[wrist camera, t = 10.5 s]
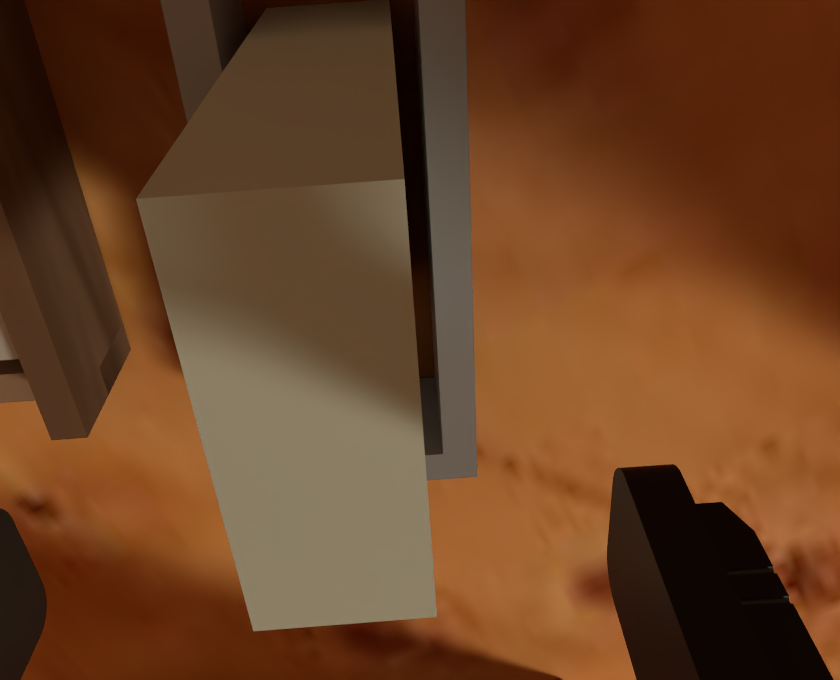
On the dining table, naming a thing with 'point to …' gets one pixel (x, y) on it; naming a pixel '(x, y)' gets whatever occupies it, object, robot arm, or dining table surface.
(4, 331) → the offcut grey mdf
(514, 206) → the dining table surface
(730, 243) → the dining table surface
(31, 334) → the rack
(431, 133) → the holder
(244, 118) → the cream rectangular block
